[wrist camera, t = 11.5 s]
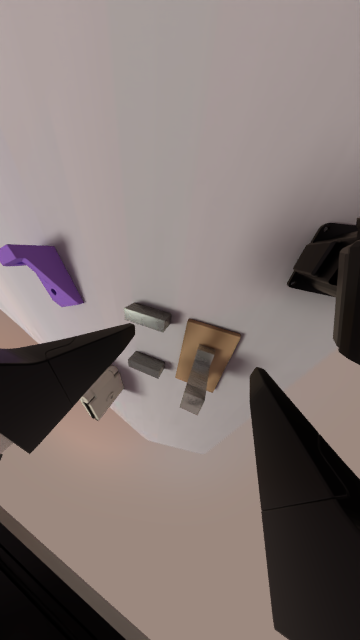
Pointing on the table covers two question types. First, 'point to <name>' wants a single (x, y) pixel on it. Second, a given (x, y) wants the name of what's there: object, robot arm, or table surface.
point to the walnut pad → (211, 338)
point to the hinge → (102, 393)
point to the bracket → (44, 270)
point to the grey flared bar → (198, 380)
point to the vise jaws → (151, 320)
